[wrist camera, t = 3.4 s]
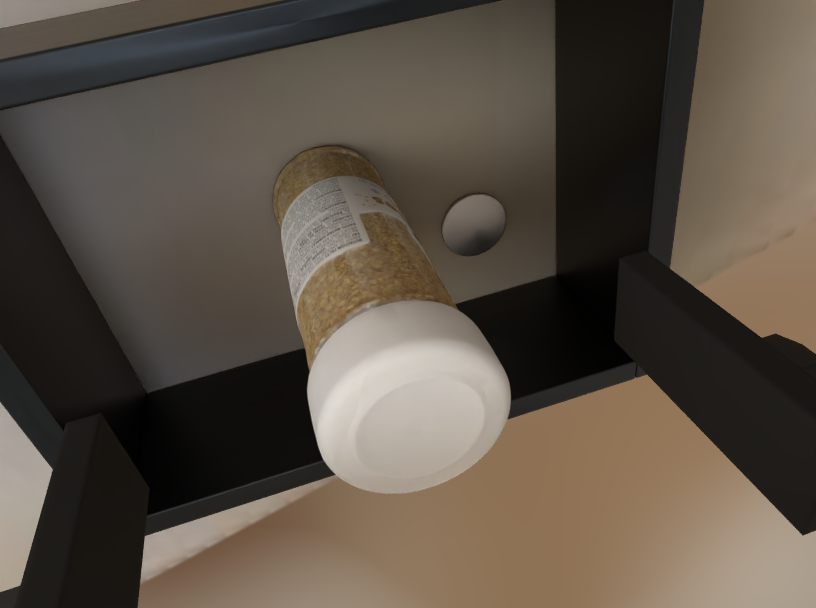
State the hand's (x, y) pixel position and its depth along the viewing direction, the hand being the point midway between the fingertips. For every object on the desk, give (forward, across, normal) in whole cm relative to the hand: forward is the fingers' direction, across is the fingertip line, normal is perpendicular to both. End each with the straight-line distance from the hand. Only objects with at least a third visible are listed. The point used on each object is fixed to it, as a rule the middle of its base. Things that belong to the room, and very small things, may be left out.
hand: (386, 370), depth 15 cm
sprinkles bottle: (+11, 0, 0) cm, 11 cm away
